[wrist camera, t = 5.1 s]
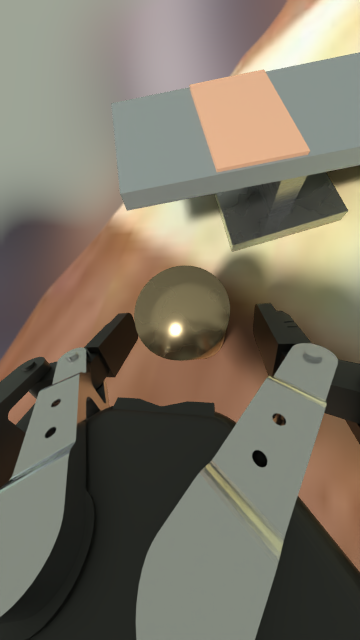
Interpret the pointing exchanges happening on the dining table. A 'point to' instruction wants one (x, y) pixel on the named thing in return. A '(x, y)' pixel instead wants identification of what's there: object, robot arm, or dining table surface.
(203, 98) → the seesaw board
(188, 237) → the dining table surface
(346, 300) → the dining table surface
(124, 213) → the dining table surface
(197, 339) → the ball
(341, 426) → the dining table surface
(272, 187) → the pivot stand
